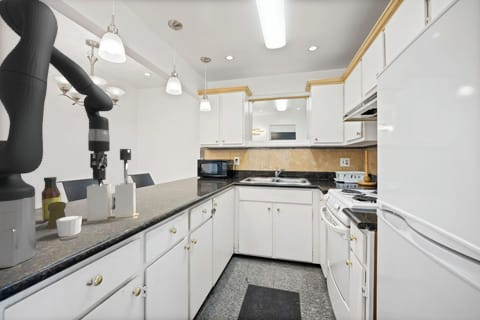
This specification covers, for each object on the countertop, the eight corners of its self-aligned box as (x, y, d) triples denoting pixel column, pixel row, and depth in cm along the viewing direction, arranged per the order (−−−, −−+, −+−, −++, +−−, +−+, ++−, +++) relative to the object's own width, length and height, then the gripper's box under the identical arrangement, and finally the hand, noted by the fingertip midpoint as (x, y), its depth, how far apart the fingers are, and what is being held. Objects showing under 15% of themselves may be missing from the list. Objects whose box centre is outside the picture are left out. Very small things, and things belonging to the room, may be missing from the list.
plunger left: (105, 215, 81) (104, 168, 81) (90, 217, 80) (90, 169, 79) (108, 212, 86) (107, 168, 86) (95, 213, 84) (94, 168, 84)
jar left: (107, 220, 81) (106, 185, 81) (87, 222, 78) (86, 186, 78) (111, 215, 87) (111, 183, 87) (93, 217, 85) (92, 184, 85)
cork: (66, 225, 78) (65, 199, 78) (68, 229, 75) (68, 201, 75) (45, 230, 74) (45, 202, 74) (47, 234, 70) (46, 204, 70)
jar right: (133, 217, 85) (133, 184, 84) (115, 219, 82) (115, 185, 82) (135, 213, 91) (135, 182, 91) (118, 214, 88) (118, 183, 88)
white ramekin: (63, 243, 63) (63, 222, 63) (51, 239, 65) (51, 219, 65) (86, 235, 69) (86, 216, 69) (75, 232, 71) (74, 214, 71)
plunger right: (131, 194, 85) (130, 149, 85) (118, 194, 83) (117, 148, 83) (132, 192, 90) (132, 149, 89) (120, 193, 88) (120, 149, 88)
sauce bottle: (65, 218, 88) (65, 176, 88) (50, 223, 82) (50, 177, 81) (53, 218, 89) (52, 176, 88) (37, 222, 82) (36, 177, 82)
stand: (136, 221, 84) (136, 218, 84) (81, 227, 76) (81, 224, 76) (139, 215, 93) (139, 212, 93) (90, 220, 86) (90, 216, 86)
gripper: (104, 139, 77) (105, 178, 77) (113, 142, 90) (113, 175, 91) (82, 138, 74) (82, 179, 75) (94, 141, 88) (94, 176, 88)
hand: (99, 177), depth 83 cm, fingers open, 8 cm apart
